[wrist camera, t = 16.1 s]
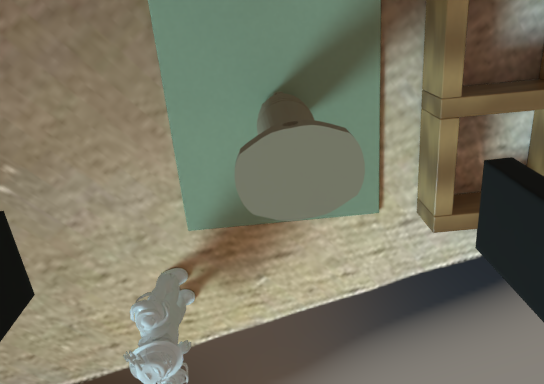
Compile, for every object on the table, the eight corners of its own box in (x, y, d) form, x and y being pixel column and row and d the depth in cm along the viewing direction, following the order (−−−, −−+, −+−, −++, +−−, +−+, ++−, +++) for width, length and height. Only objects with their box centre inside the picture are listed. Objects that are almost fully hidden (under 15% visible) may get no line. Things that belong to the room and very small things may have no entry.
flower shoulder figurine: (144, 249, 41) (104, 340, 29) (187, 242, 40) (162, 331, 29) (168, 328, 44) (140, 436, 33) (207, 322, 44) (192, 428, 33)
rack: (427, -43, 32) (450, -49, 29) (578, -56, 32) (619, -65, 29) (416, 212, 40) (433, 233, 37) (537, 201, 40) (566, 220, 37)
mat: (146, -18, 32) (144, -18, 32) (379, -38, 32) (381, -39, 32) (188, 228, 40) (188, 230, 40) (377, 211, 40) (378, 213, 40)
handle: (324, 131, 37) (369, 206, 23) (247, 146, 37) (245, 229, 23) (316, 72, 35) (359, 114, 21) (235, 88, 35) (225, 140, 21)
